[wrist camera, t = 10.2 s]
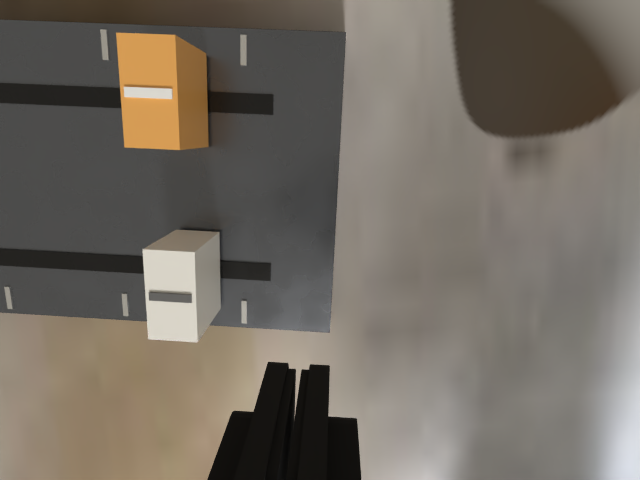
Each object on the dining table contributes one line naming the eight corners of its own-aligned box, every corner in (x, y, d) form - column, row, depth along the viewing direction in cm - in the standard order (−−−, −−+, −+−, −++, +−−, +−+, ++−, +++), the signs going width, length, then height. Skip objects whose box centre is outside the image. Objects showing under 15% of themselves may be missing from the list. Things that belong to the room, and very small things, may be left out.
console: (345, 41, 22) (346, 31, 20) (330, 317, 26) (329, 333, 24) (-90, 24, 23) (-132, 14, 21) (-40, 295, 27) (-71, 308, 25)
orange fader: (206, 53, 20) (174, 34, 16) (208, 147, 22) (178, 149, 18) (158, 51, 21) (114, 31, 17) (162, 144, 22) (123, 147, 18)
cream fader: (219, 231, 23) (193, 252, 19) (220, 308, 24) (196, 343, 20) (176, 229, 23) (141, 249, 19) (179, 305, 24) (147, 340, 20)
